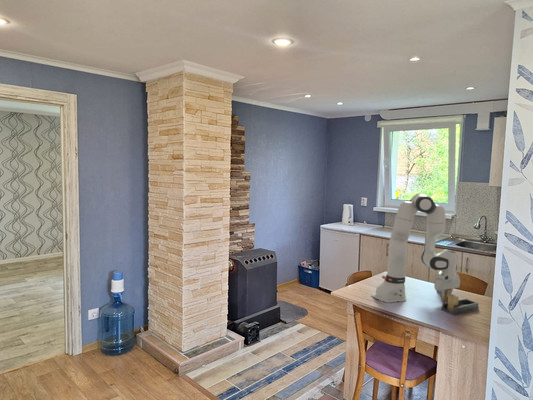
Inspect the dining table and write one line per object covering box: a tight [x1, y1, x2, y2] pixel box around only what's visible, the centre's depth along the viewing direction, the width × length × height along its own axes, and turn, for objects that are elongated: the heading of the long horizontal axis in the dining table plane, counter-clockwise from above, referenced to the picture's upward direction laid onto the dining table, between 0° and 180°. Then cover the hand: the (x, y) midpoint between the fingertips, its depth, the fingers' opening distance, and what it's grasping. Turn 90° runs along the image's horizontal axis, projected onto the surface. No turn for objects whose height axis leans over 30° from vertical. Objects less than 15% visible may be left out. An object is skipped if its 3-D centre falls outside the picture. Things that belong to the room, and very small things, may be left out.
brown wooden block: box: [440, 289, 453, 303], centre depth 237 cm, size 5×4×8 cm
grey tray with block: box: [440, 294, 480, 316], centre depth 223 cm, size 22×9×10 cm, turn 116°
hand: (446, 295), depth 237 cm, fingers closed on brown wooden block, 4 cm apart
